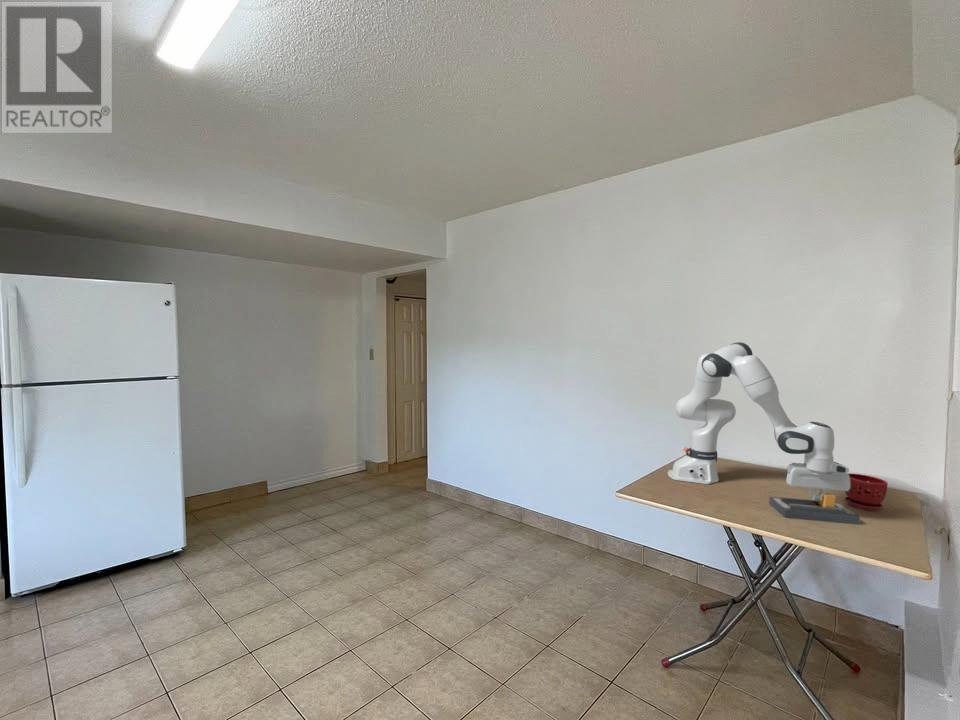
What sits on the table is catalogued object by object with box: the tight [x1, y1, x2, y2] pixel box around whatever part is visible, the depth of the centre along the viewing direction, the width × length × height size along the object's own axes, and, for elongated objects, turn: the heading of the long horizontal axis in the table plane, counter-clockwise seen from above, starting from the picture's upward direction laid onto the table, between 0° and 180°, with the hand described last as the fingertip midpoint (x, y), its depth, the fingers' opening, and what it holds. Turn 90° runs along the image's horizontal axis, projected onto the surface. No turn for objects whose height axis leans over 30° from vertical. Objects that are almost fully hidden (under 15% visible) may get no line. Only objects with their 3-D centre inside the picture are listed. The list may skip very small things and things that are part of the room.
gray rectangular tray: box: [768, 496, 860, 525], centre depth 168 cm, size 24×14×4 cm, turn 77°
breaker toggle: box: [818, 490, 836, 507], centre depth 167 cm, size 3×5×5 cm, turn 167°
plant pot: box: [844, 473, 889, 511], centre depth 176 cm, size 13×13×12 cm
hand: (816, 499), depth 168 cm, fingers closed
